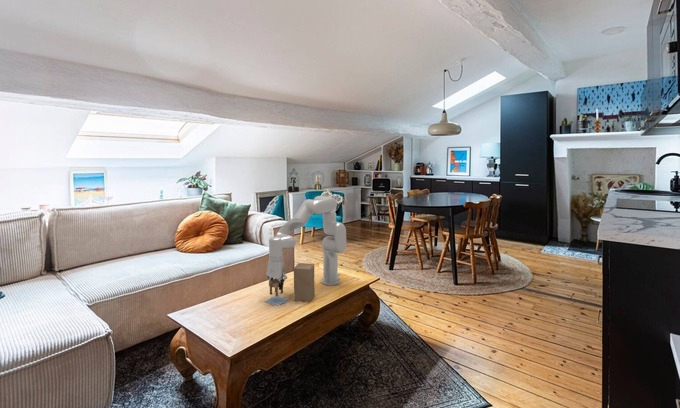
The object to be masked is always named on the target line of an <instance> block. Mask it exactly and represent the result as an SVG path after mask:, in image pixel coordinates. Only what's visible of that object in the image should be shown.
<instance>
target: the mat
mask: <svg viewBox="0 0 680 408" xmlns="http://www.w3.org/2000/svg"><path fill="white" fill-rule="evenodd" d="M289 300H290V299H289V298H288V297H283V296H280V295H278V296H276V295H273V296H272V297H270V298H268V299H266V300H264V303H266V304H270V305H273V306H277V307H278V306H280V305H283V304H284V303H286V302H287V301H289Z"/></svg>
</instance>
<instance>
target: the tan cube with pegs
mask: <svg viewBox="0 0 680 408" xmlns="http://www.w3.org/2000/svg"><path fill="white" fill-rule="evenodd" d="M284 283H285V281H284V282H283V286H284ZM268 286H269V295H271V296H272V295H273V288H274V292H275V296H279V280H278V279H275V278H274V279H273V280H270V281H269V280H268ZM280 294H281V295H282V294H284V288H283V289H281V290H280Z"/></svg>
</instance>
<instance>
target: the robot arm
mask: <svg viewBox="0 0 680 408" xmlns="http://www.w3.org/2000/svg"><path fill="white" fill-rule="evenodd" d="M337 206H338V201H337V200H336V198H334V197H331V196H325V195H318V196H315V197H314V198H313V199H312V198H311V199H309V198H308V199H307V198H306V199H304V201H302V204H301V205H300V206H299V208H298V210H297V211H296V213H295V215H294V216H293V217H292V218H290V219H289V220H288V221H286V222H285V223H284V224H282V225H281V226H280V228H279V230H278V231H277V233H276V235H275V236H271V237H270V238H269V239H268V251H269V252H268V253H269V254H268V261H267V265H266V272H265V275H266V277H267V278H268V282H269V281H270V280H273V279H278V280H279V287H278V291H281V289H283V290H284V285H283V282H284V283H285V281H286V280H287V279H288V276H287V275H286V271H285V269H286V268H285V263H284V259H283V250H284V249H288V250H289V249H292V248H294V247H296V244H297V240H296V237H294V236H292V235H289V234H291V233H292V232H293V231H294V230H296V229H300V228H303V227H305V226H306V224H307V223H308V221H309V220H310V218H311V216H312V214H314V215H322V225H323V232H324V234H326V236H325V237H324V238H322V242H321V248H322V252H323V253H322V254H323V256H322V257H323V261H322V263H323V270H322V271H323V278H322V279H321V281H320V282H321V284H323V285H324V286H337V285H339V284H340V283H341V280H340V279H339V277H340V276H341V274H340V272H339V273H338V270H339V268H338V262H339V261H338V260H339V258H338V254H343V253H344V252H345V251H346V248H347V229H346V226H345V225H344V223H342V222H339V221H337V218H336V217H337V216H336V211H335V210H336V208H337ZM327 235H328V236H327Z"/></svg>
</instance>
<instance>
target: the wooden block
mask: <svg viewBox="0 0 680 408" xmlns="http://www.w3.org/2000/svg"><path fill="white" fill-rule="evenodd" d="M314 296H315V264H314V263H306V262H305V263H304V262H299V263H297V264H296V265H295V266H294V267H293V300H294V301H297V302H298V301H301V302H311V301H312V299H313V298H314Z"/></svg>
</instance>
